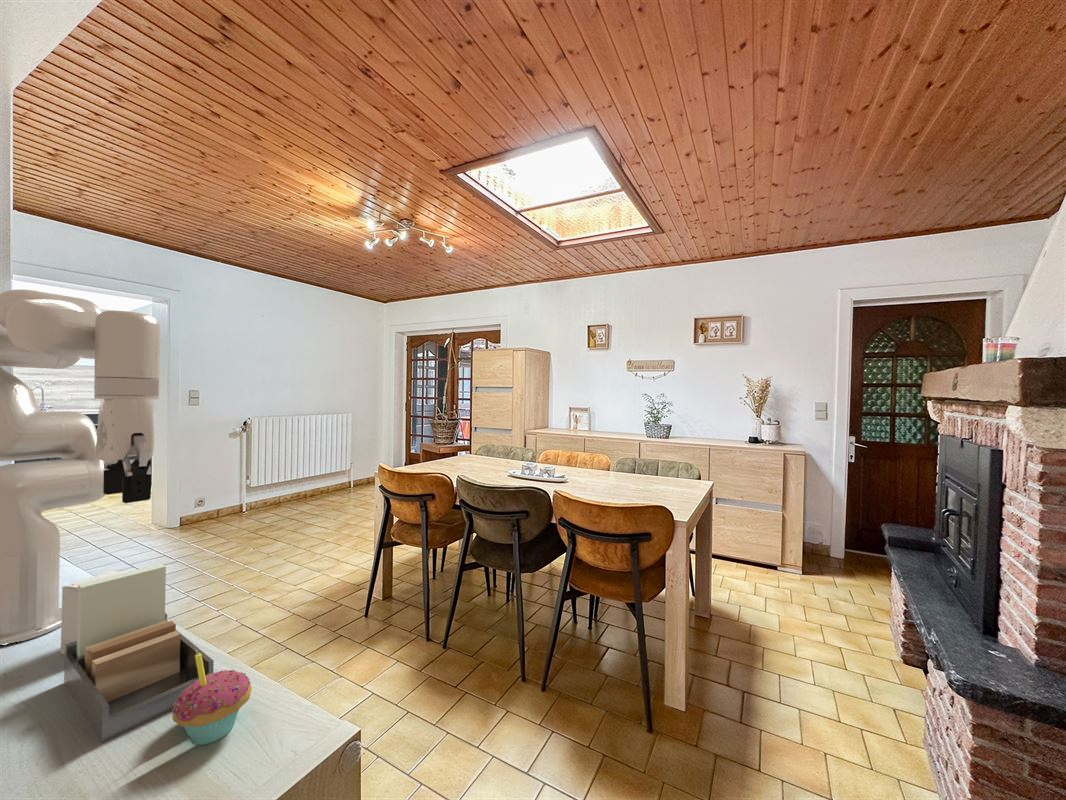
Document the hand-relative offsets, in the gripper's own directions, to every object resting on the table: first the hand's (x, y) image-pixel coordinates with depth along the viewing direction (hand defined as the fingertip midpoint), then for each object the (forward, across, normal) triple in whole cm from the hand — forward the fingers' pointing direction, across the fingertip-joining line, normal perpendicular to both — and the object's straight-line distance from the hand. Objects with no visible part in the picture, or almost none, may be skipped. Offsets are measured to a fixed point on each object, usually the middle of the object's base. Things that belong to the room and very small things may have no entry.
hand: (126, 497), depth 69 cm
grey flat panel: (+28, 0, 0) cm, 28 cm away
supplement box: (+29, -12, 0) cm, 31 cm away
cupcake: (+29, +24, +3) cm, 38 cm away
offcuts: (+28, +5, 0) cm, 28 cm away
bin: (+29, +7, 0) cm, 30 cm away
